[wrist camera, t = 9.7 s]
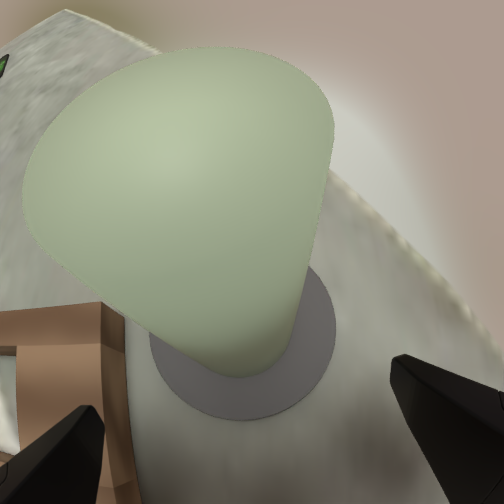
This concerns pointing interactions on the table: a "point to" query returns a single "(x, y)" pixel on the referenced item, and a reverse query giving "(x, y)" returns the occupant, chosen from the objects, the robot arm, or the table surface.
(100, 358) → the puzzle board
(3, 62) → the mouse mat
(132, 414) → the table surface
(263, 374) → the coaster
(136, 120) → the peg
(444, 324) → the table surface
